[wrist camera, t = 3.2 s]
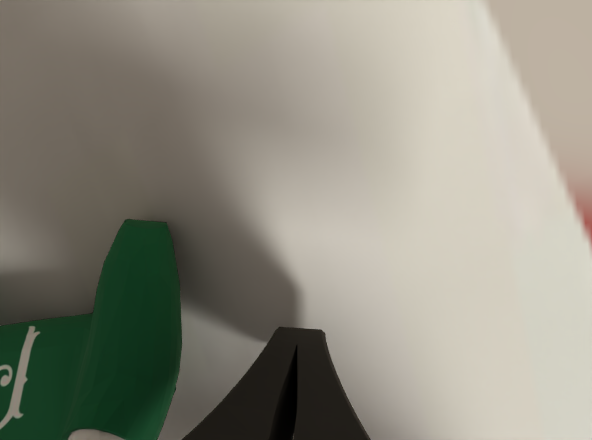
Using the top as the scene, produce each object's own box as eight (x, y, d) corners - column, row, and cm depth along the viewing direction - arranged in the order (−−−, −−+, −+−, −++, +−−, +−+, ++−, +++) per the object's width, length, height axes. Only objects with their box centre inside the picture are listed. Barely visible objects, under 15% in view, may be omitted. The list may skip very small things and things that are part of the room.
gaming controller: (-15, 287, 14) (-76, 475, 11) (-140, 252, 10) (-271, 512, 8) (212, 253, 13) (207, 452, 10) (156, 202, 9) (126, 483, 7)
